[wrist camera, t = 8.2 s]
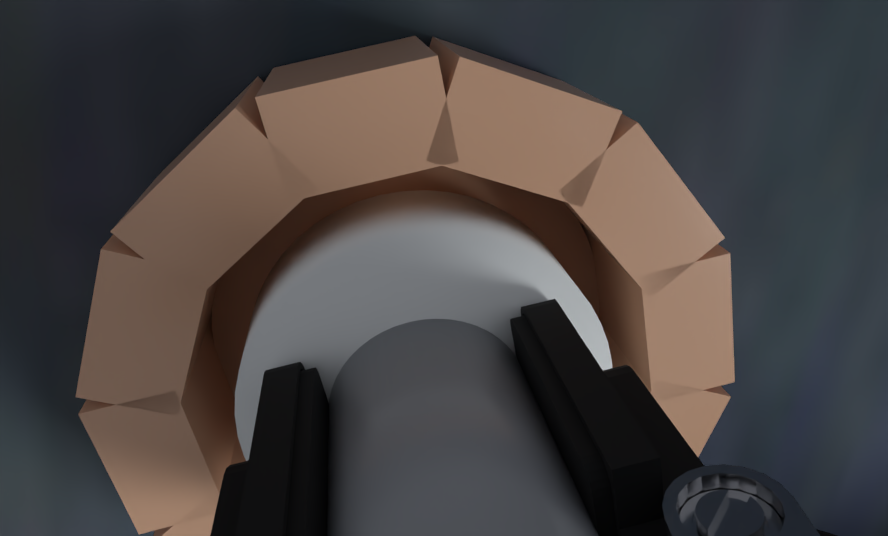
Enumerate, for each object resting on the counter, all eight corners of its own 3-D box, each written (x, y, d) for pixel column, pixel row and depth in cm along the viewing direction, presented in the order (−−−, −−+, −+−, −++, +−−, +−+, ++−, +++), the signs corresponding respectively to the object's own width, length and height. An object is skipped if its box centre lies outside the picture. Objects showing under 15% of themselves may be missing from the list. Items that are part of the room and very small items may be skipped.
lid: (552, 153, 12) (801, 368, 6) (591, 436, 14) (796, 808, 8) (201, 237, 12) (39, 563, 5) (302, 510, 14) (275, 960, 8)
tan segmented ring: (636, -15, 12) (720, -10, 10) (674, 453, 17) (740, 549, 14) (40, 120, 12) (-47, 166, 9) (237, 567, 16) (217, 688, 14)
